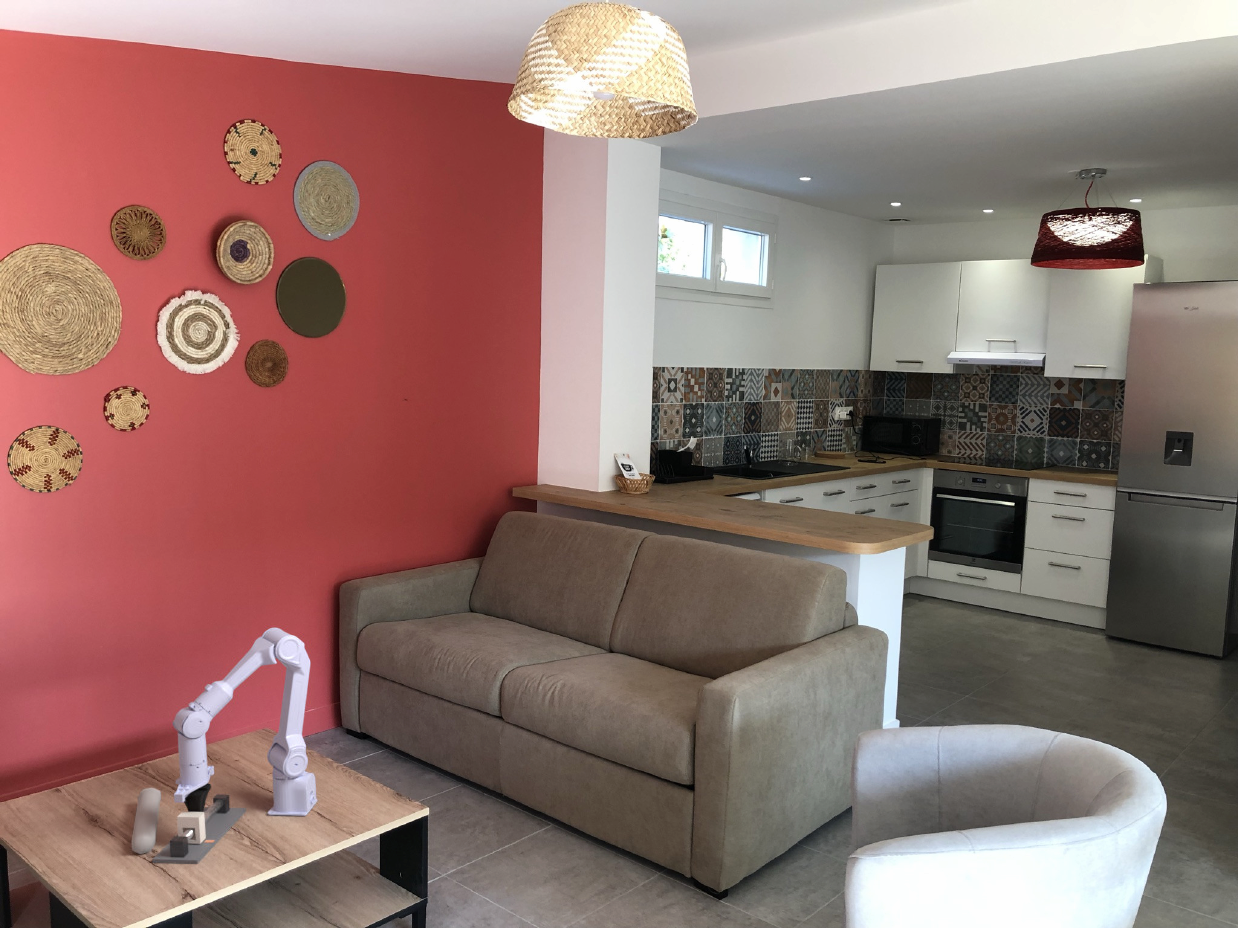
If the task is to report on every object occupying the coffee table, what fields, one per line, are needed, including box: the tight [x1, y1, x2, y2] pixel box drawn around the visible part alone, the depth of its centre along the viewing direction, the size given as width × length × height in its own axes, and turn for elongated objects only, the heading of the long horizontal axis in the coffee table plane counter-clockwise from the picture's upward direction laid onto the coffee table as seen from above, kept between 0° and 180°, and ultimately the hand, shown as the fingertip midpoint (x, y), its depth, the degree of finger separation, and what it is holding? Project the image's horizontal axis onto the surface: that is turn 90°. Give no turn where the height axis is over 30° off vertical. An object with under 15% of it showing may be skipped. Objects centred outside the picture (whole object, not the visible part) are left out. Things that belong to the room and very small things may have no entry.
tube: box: [131, 787, 162, 855], centre depth 225 cm, size 5×5×25 cm
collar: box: [176, 811, 206, 844], centre depth 217 cm, size 5×2×6 cm, turn 87°
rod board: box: [152, 793, 247, 865], centre depth 222 cm, size 10×24×5 cm, turn 177°
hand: (196, 818), depth 220 cm, fingers closed
